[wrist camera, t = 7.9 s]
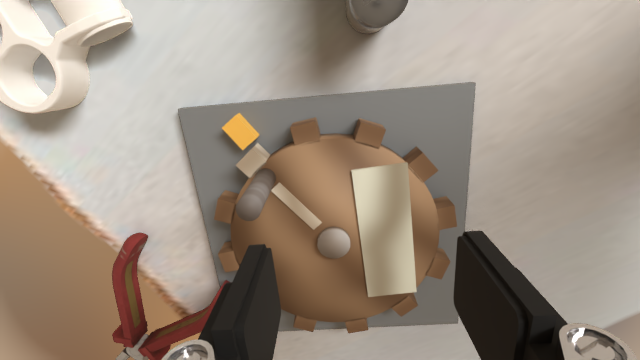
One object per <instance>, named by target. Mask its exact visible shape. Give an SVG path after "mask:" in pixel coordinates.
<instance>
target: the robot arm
mask: <svg viewBox="0 0 640 360" xmlns="http://www.w3.org/2000/svg"><path fill="white" fill-rule="evenodd" d="M453 300H454V306H455V308H456V311H457V313H458V315H459V317H460V319H461V321H462V323H463V324H464V326H465V328H466V330H467V332H468V334H469V336H470V338H471V340H472V342H473V344H474V346H475V348H476V350H477V352H478V354H479V356H480V358H481V360H637V358H636V356H635V354H634V353H633V352H632V350H631V349H630V347H629V346H628V345H626V344H625V343H624V342H623V341H622V340H621V339H619V338H618V337H616V336H615V335H613V334H611V333H609V332H607V331H605V330H603V329H601V328H598V327H595V326H591V325H588V324H581V323H573V324H567V323H566V321H565V320H564V319H563V318H562V317H561V316H560V315H559V314H558V313H557V311H556V310H555V309H554V308H553V307H552V306H551V305H550V304H549V303H548V302H547V300H546V299H545V298H544V297H543V296H542V295H541V294H540V293H539V292H538V291H537V289H536V288H535V287H534V286H533V285H532V284H531V283H530V282H529V281H528V280H527V278H526V277H525V276H524V275H523V274H522V273H521V272H520V271H519V270H518V269H517V268H515V267H514V266H513V265H512V264H511V263H510V262H509V261H508V259H507V258H506V257H505V256H504V255H503V254H502V253H501V252H500V251H499V249H498V248H497V247H496V246H495V245H494V244H493V243H492V242H491V240H490V239H489V238H488V237H487V236H486V235H485V234H484V233H483V232H482V231H469V232H464V233H463V234H462V236H459V237H458V239H457V251H456V266H455V281H454V296H453ZM280 318H281V305H280V298H279V292H278V286H277V280H276V274H275V268H274V262H273V256H272V250H271V248H266V245H265V244H257V245H249V246H248V248H247V251H246V253H245V255H244V257H243V260H242V262H241V264H240V266H239V269H238V271H237V273H236V275H235V277H234V280H233V282H227V283H226V284H225V285H224V286H223V288H222V290H221V292H220V295H219V297H218V299H217V301H216V303H215V305H214V307H213V309H212V311H211V313H210V315H209V317H208V320H207V322H206V324H205V326H204V328H203V330H202V332H201V334H200V336H199V338H198V340H191V341H187V342H184V343H182V344H180V345H177V346H176V347H174V348H173V349H172V350H170V351H169V352H168V353H167V354H166V355H165V356H164V357H163V358H162V359H161V360H272V359H273V354H274V349H275V344H276V338H277V333H278V328H279V323H280Z"/></svg>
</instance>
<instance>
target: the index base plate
mask: <svg viewBox="0 0 640 360" xmlns="http://www.w3.org/2000/svg"><path fill="white" fill-rule="evenodd" d="M475 85H476V83H474V82H468V83H456V84H445V85H434V86H423V87H411V88H400V89H389V90H378V91H366V92H355V93H344V94H333V95H321V96H310V97H299V98H288V99H276V100H265V101H254V102H243V103H231V104H220V105H209V106H198V107H186V108H180V109H178V113H179V117H180V121H181V125H182V129H183V133H184V138H185V142H186V146H187V150H188V154H189V159H190V163H191V167H192V171H193V175H194V180H195V184H196V188H197V192H198V196H199V201H200V205H201V209H202V213H203V217H204V221H205V226H206V230H207V234H208V238H209V242H210V247H211V251H212V255H213V259H214V263H215V268H216V272H217V276H218V280H219V284H220V288H221V286H222V285H223V283H224V282H225V280H228V281H229V282H233V280H234V277H235V275H236V273H237V271H238V270H235V271H230V272H225V270H224V268H223V265H222V263H221V261H220V258H219V256H218V253H219V251H220V250H221V248H222V246H223V244H224V243H225V242H229V241H231V224H229V223H225V222H221V221H218V220H214V217H215V211H216V206H217V201H218V198H219V197H220V196H221V195H222V193H223V192H224V191H225V190H227V191H231V192H234V193H238V194H239V193H240V191H241V189H242V188H243V186H244V185H245V183H246V182H247V180H248V179H249V177H248V176H247V175H246V174H245V173H243V172H242V171H241V170H240V169H239V168H238V167H237V166H236V164H237V163H238V162H239V161H240V160H241V159H242V158H243V157H244V156H245V155H246V154H247V153H248V152H249V151H250V150H251V149H252V148H253V147H254V146H255V145H256V144H257V143H259V144H260V145H261V146H262V147H263V148H264V149H265V150H266V151H267V152H268V153H269V154H270V155H271V154H272V153H273V152H275V151H277V150H278V149H280V148H281V147H283V146H285V145H287V144H289V143H291V142H293V141H294V140H293V137H292V133H291V130H290V126H291V125H292V123H294V122H298V121H302V120H306V119H310V118H314V117H316V118H317V122H318V126H319V130H320V134H333V133H339V134H350V135H353V134H354V131H355V128H356V125H357V122H358V119H359V118H361V119H364V120H367V121H371V122H374V123H378V124H381V125H383V127H384V128H385V129H386V131H385V134H384V137H383V140H382V142H381V144H382V145H384V146H386V147H388V148H390V149H391V150H393V151H394V152H395V153H397V154H398V155H400V156H401V157H402V158H403V157H404V156H405V155H407V154H408V153H409V152H410V151H411V150H413V149H414V148H415V147H416V146H417V147H418V148H419V149H420V150H421V151H422V152H423V153H424V154H425V156H426V157H427V158H428V159H429V160H430V161H431V162H432V163H433V165H434V166H435V167H436V168H437V169H438V170H439V171H437V172H436V173H435V174H434V175H432V176H431V177H430V178H429V179H427V180H426V181H425V182H424V183H425V185H426V187H427V188H428V190H429V192H430V194H431V195H432V198H433V199H434V198H439V197H444V196H447V197H448V198H449V200H450V201H451V202H452V203H453V204H454V205H455V213H456V221H457V227H453V228H448V229H443V230H440V233H439V244H438V248H441V249H443V250H444V251H445V253H446V255H447V256H448V258H449V260H450V261H451V262H450V264H449V266H448V268H447V270H446V272H445V274H444V276H443V278H442V280H441V279H437V278H433V277H430V276H426V277H425V278H424V279H423V281H422V282H421V283H420V285H419V286H418V287H417V288H416V290H417V292H413V293H414V296H415V298H416V301H417V304H418V306H417V307H415V308H414V309H412V310H411V311H409V312H408V313H406V314H405V315H403V316H402V317H401V316H400V315H398V314H397V313H396V312H395V311H394V310H393V309H392V308H390V309H388V310H386V311H384V312H382V313H380V314H377V315H374V316H371V317H368V318H367V323H368V327H387V326H409V325H432V324H454V323H458V313H457V311H456V308H455V306H454V300H453V296H454V281H455V266H456V251H457V239H458V237H459V236H462V234H463V233H464V232H465V219H466V206H467V192H468V179H469V165H470V152H471V139H472V125H473V112H474V99H475ZM294 318H295V315H293V314H291V313H289V312H286V311H284V310H282V309H281V318H280V323H279V328H278V331H297V330H303V329H299V328H295V327H293V325H294ZM342 328H347V327H346V324H345V322H323V321H317V322H316V325H315V328H314V330H319V329H342Z"/></svg>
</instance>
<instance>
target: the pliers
mask: <svg viewBox="0 0 640 360" xmlns="http://www.w3.org/2000/svg"><path fill="white" fill-rule="evenodd" d="M147 238H148V235H146V234H144V233H136V234H133V235H131V236H130V237H129V238H127V240H126V241H125V242H124V244H123V246H122V249H121V251H120V253H119V255H118V257H117V259H116V261H115V263H114V266H113V271H112V280H113V288H114V293H115V297H116V302H117V307H118V311H119V316H120V320H121V325H120V326H119V327H118V328H117V330H115V331H114V333H113V335H112V336H113V340H114V342H116V343H122V344H124V347H126V348H125V349H124V350H123V351H122V352H121V353H120V354H119V356H118V357H117V358H116V360H127V359H128V358H129V357H130V356H131V357H132V358H134V359H135V360H148V359H150V360H161V359H162V358H163V357H164V356H165V355H166V354H167V352H168V350H169V349H170V345H171V344H173V343H175V342H178V341H180V340H183V339H185V338H187V337H190V336H192V335H195V334H197V333H199V332H201V331H202V330H203V328H204V326H205V324H206V322H207V320H208V317H209V315H210V313H211V311H212V309H213V307H214V305H215V303H216V301H217V299H218V297H219V295H220V292H221V290H222V288H223V286H224V285H225V284H226V283H227V282H229V281H228V280H225V282H224V283H223V285H222V286H221V288H220V289H219V291H218V293H217V294H216V296H215V298H214V300H213V301H212V303H211V304H210V305H209V306H208V307H206V308H205V309H203V310H201V311H199V312H197V313H195V314H193V315H190V316H188V317H186V318H183V319H181V320H179V321H177V322H174V323H172V324H170V325H167V326H165V327H163V328H159V329H157V330H155V331H154V332H152V333H151V334H150V335H147V334H145V333H146V332H147V322H146V320H145V315H144V309H143V305H142V299H141V293H140V288H139V283H138V277H137V261H138V257H139V255H140V253H141V251H142V249H143V247H144V245H145V243H146V241H147Z"/></svg>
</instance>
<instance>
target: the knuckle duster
mask: <svg viewBox="0 0 640 360" xmlns="http://www.w3.org/2000/svg"><path fill="white" fill-rule="evenodd" d="M51 2H52V3H53V5H54V6H55V8H56V10H57V11H58V13H59V15H60V16H61V18H62V19H63V21H64V23H65V24H66V26H67V27H65V28H63V29H61V30H59V31H57V32H56V33H55V36H54V38H53V37H52V36H51V35H50V34H49V33H48V31H47V29H46V28H45V26H44V25H43V23H42V22H41V20H40V18H39V17H38V15H37V14H36V12H35V11H34V9H33V8H32V6H31V4H30V3H29V1H28V0H0V23H1V27H2V32H3V37H2V42H1V45H0V101H1V102H2V103H4V104H5V105H7V106H8V107H10V108H12V109H15V110H17V111H20V112H24V113H31V114H38V113H45V112H50V111H56V110H62V109H68V108H72V107H74V106H76V105H78V104H79V103H80V102H81V101H82V100H83V99H84V98H85V96H86V95H87V92H88V90H89V85H90V75H89V69H88V66H87V63H86V58H87V55H88V52H89V49H90V46H94V45H97V44H100V43H103V42H105V41H108V40H110V39H112V38H114V37H116V36H118V35H120V34H122V33H124V32H125V31H127V30H128V29H129V28H130V27H131V26H132V25H133V22H132V19H133V18H132V16H131V14H130V12H129V10H127V9H125V8H124V6H123V4H122V2H121V0H51ZM41 53H43V54H44V55H45V56H46V57H47V59H48V60H49V61H50V63H51V65H52V66H53V69H54V72H55V76H56V85H55V88H54V90H53V92H52V93H51V94H50V96H49V97H48V96H47V95H46V94H44V93H43V92H42V91H41V90H40V89H39V87H38V86H37V84H36V82H35V80H34V77H33V65H34V63H35V61H36V59H37V58H38V57H39V56H40V54H41Z"/></svg>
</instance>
